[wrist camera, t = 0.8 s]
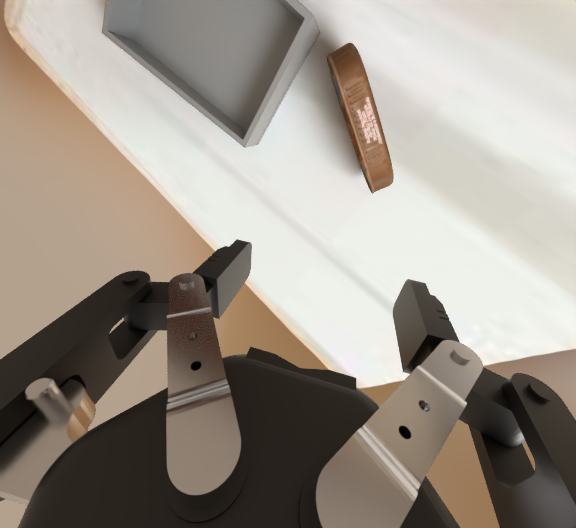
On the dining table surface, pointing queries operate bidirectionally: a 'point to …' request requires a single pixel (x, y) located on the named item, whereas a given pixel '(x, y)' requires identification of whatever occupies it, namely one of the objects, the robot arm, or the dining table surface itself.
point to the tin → (361, 116)
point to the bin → (218, 53)
